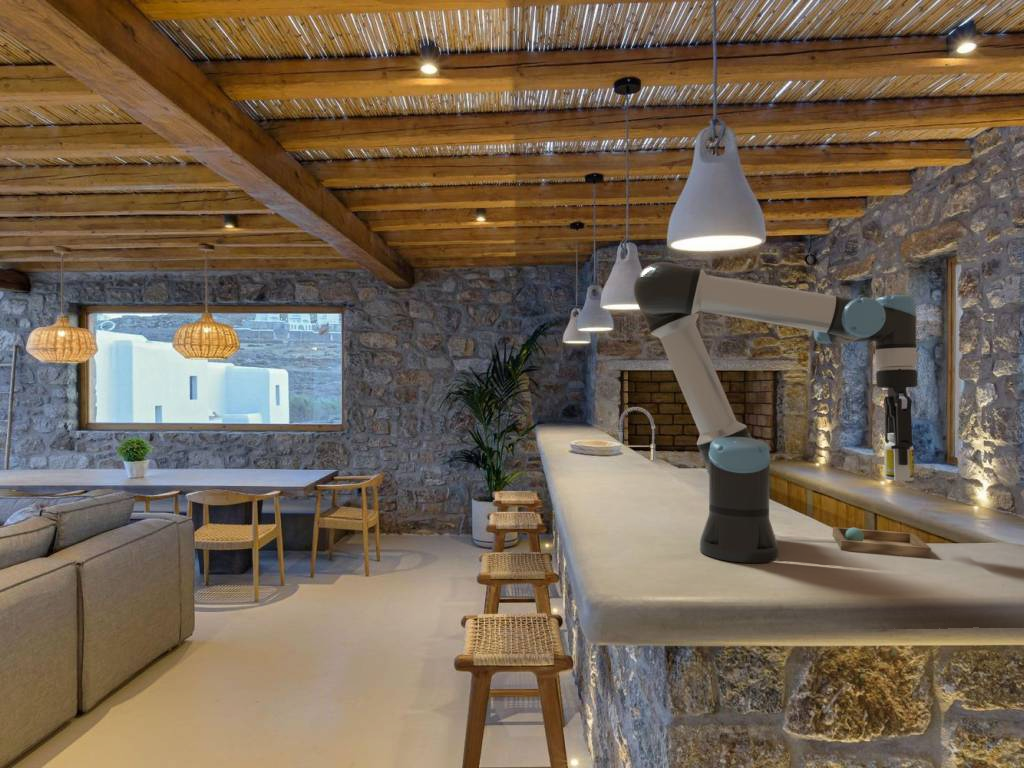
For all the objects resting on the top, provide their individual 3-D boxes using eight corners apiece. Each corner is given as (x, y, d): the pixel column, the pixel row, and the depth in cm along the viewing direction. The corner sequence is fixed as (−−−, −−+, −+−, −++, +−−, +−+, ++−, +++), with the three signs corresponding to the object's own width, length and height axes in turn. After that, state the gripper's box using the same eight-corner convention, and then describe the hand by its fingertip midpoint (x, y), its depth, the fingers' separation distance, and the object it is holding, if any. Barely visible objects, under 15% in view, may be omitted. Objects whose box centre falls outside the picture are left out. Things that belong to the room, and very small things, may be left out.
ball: (846, 544, 137) (846, 528, 137) (844, 541, 140) (844, 525, 140) (865, 546, 136) (865, 529, 136) (862, 542, 139) (862, 526, 139)
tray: (841, 552, 132) (841, 540, 132) (832, 538, 146) (832, 527, 146) (930, 560, 127) (930, 548, 127) (913, 544, 140) (913, 533, 140)
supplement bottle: (918, 481, 132) (917, 434, 132) (890, 481, 133) (889, 434, 133) (908, 478, 137) (907, 432, 137) (880, 477, 138) (879, 432, 138)
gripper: (928, 367, 125) (931, 485, 125) (906, 369, 143) (909, 473, 142) (885, 368, 128) (887, 484, 128) (868, 370, 145) (870, 472, 145)
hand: (898, 478), depth 135 cm, fingers closed on supplement bottle, 5 cm apart
